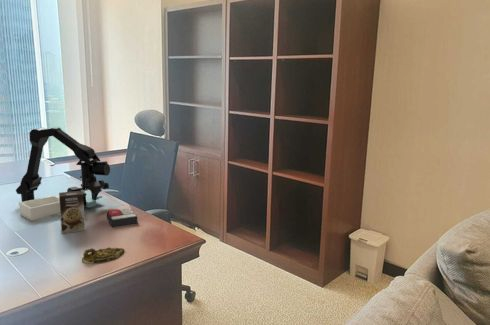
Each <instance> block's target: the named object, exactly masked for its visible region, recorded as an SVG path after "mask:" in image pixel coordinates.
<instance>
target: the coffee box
mask: <svg viewBox="0 0 490 325" xmlns="http://www.w3.org/2000/svg"><path fill="white" fill-rule="evenodd" d="M58 197H59V201H60V214H59V215H60V228H61V229H60V230H61V234H69V233H76V232H83V231H86V224H85V220H86V219H85V206H84V201H83V192H82V191H73V192H67V191H65V192H63V191H62V192H59V193H58Z"/></svg>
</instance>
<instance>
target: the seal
mask: <svg viewBox="0 0 490 325" xmlns="http://www.w3.org/2000/svg"><path fill="white" fill-rule="evenodd" d="M124 253H125V249H124V248H123V247H121V248H120V247H119V248H118V247H106V248H99V249H97V250H96V248H91V247H90V248H89V249H85V250H84V251H83V254H82V255H83V257H81V262H82V263H84V264H101V263H105V262H111V261H113V260H116V259H118V258H120V257H121V256H122V255H124Z"/></svg>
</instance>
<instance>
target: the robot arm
mask: <svg viewBox="0 0 490 325" xmlns="http://www.w3.org/2000/svg"><path fill="white" fill-rule="evenodd" d="M50 137H53V138H55V139H56V140H57V141H59V142H60V143H62V144H63V145H64V146H65V147H67V148H68V149H70V150H71V151H72V152H73V153H74V156H75V157H77V159H78V162H76V164H75V165H76V166H80V176H79V177H80V179H81V184H80V187H77V186H71V187H68V188H67V190H66V192H73V191H82V192H83V201H84V207H86V195H87V194H86V193H85V192H87V191H90V192H91V195H92V199H93V200H95V201H96V202H97V200H96V198H97V196H98V195H100V193H101V192H102V191H103V190H108V189H109V188H110V185H109V182H106V181H104V180H103V179H100V180H97V177H96V176H104V177H105V176H109V174H110V172H111V167H110V165H109V163H108V161H105V160H104V161H102V160H101V159H100V158H99V157H98V156H97V153H95V152H96V150H95V149H93V148H92V147H91V146H88V145H85V144H83V143H80V142H79V141H77V140H76V139H74V138H73V137H72V136H71V135H69V134H68V133H67V132H65V131H64V130H63V129H62V128H61V127H59V126H56V127H51V128H45V127H39V128H33V129H31V130H30V132H29V142H30V144H31V147H30V152H29V158H28V164H27V169H26V172H25V174H24V175H23V176H22V178H21V181H20V184H19V185H18V187H16V189H15V192H16V195H20V198H21V202H24V201H29V200H34V199H36V198H35V191H37V190H38V188H39V186H40V185H42V178H43V177H42V176H40V175H39V170H40V165H41V159H42V154H43V149H44V146H45V145H46V144H47V143H48V140H49V138H50Z"/></svg>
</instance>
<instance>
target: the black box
mask: <svg viewBox="0 0 490 325" xmlns="http://www.w3.org/2000/svg"><path fill="white" fill-rule="evenodd" d="M106 218H107V220H108V223H110V226H111V228H118V227H119V228H120V227H125V226H126V227H127V226H132V225H133V226H134V225H138V216H137V215H136V213H135V212H134V211H133V210H132V209H131V208H130V207H125V208H119V209H118V208H115V209H109V210H107V211H106Z"/></svg>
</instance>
